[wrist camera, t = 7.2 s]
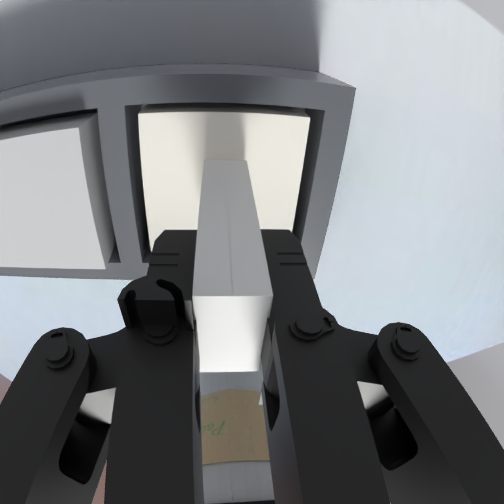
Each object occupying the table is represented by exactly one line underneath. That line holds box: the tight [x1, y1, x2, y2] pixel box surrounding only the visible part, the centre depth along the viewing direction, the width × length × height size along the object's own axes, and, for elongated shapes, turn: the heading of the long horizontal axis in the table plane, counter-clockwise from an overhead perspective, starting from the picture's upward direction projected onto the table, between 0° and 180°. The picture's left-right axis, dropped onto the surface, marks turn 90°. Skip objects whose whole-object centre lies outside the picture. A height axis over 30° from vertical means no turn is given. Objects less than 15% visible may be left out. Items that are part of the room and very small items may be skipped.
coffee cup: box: [200, 364, 275, 504], centre depth 21 cm, size 9×9×15 cm
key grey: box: [0, 113, 116, 269], centre depth 11 cm, size 6×6×2 cm
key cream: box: [138, 102, 310, 251], centre depth 13 cm, size 6×6×2 cm
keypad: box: [0, 64, 356, 280], centre depth 13 cm, size 24×9×4 cm, turn 85°
